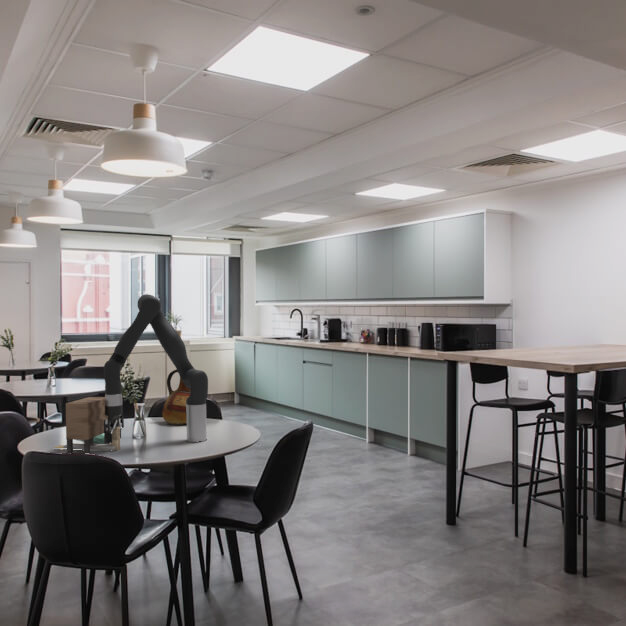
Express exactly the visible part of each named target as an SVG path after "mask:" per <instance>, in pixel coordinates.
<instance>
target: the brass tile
mask: <svg viewBox="0 0 626 626" xmlns="http://www.w3.org/2000/svg"><path fill="white" fill-rule="evenodd" d="M65 445H66V444H65ZM65 445H62V444H59V445H57V446H54V447H53V448H64V446H65Z"/></svg>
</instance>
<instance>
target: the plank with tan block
mask: <svg viewBox="0 0 626 626" xmlns="http://www.w3.org/2000/svg"><path fill="white" fill-rule="evenodd" d="M110 431H111V430H110ZM64 448H67V444H65V446H64ZM73 449H82V450H84V443H74V442H73ZM119 449H120V450H121V439H120V427H115V429H114V430H113V432H112V443H110V444H98V443H94V444H90V450H91V451H90V452H116V451H115V450H118V451H120V450H119ZM111 450H112V451H111Z"/></svg>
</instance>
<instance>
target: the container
mask: <svg viewBox="0 0 626 626" xmlns="http://www.w3.org/2000/svg"><path fill="white" fill-rule="evenodd" d="M95 442H96V443H95ZM94 443H95V444H98V443H99V444H104V433H103V434H101V435H98V436H96V437H94Z"/></svg>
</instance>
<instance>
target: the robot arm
mask: <svg viewBox="0 0 626 626" xmlns="http://www.w3.org/2000/svg"><path fill="white" fill-rule="evenodd" d="M161 307H162V305H161V302H160V300H159V298H157V297H156V296H154V295H152V294H148V293H146V294H143V295H141V296H140V297H139V298H138V299H137V309H138V312H137V315H136V317H135V319H134V321H133V322H132V323H131V324H130V326H129V327H128V328H127V329H126V330H125V332H124V333H123V334H122V335H121V337H120V339H119V341H118V342H117V344H116V345H115V348H114V351H113V353H112V354H111V356H110V357H109V359H108V360H107V361H106V362H105V363H104V366H103V377H104V378H103V379H104V385H105V386H104V397H105V415H106V416H108V420H104V433H103V434H107V443H110V444H111V443H112V432H113V430H114V429H115V427H120V440H121V439H122V431H123V429H124V427H125V423H124V422H125V419H124V414H123V413H124V412H123V411H124V410H123V395H122V392H123V391H122V388H123V387H122V381H121V371H122V369H123V368H124V366H125V364H126V362H127V360H128V357H130V355H131V354H132V351H134V348H135V347H136V345H137V343H138V342H139V339H140V338H141V337H142V334H143V333H145V332H144V331H145V330H146V329H147V328H148V326H149V325H150V327H151V328H152V330H153V332H154V334H155V336H156V338H157V340H158V342H159V343H160V345H161V347H162V348H163V350H164V352H165V354H167V356H168V358H169V359H170V361H171V362H172V365H174V367H175V370H176V369H177V371H178V372H177V373H178V375H179V378H180V377H181V379H182V381H183V383H184V385H185V386H186V387H188V388H190V396H189V397H188V398H187V399H186V413H187V424H186V441H187V442H189V443H198V442H199V441H201V442H205V441H207V440H208V439H207V437H208V435H207V433H208V432H207V427H208V425H207V399H208V397H209V379H208V375H207V373H206V372H205V371H203V370H200V369H196V368H195V367H194V366H193V365H192V363H191V361H190V360H189V357H188V354H187V349H186V345H185V343H184V341H183V339H182V338H181V336H180V334H179V332H178V331H177V330H176V329H175V327H174V326H173V325H172V324H171V323H170V321H168V319H167V318H166V317H165V315H164V313H163V312H162V309H161ZM106 428H107V430H106ZM110 430H111V431H110ZM206 439H207V440H206ZM199 443H200V442H199Z"/></svg>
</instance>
